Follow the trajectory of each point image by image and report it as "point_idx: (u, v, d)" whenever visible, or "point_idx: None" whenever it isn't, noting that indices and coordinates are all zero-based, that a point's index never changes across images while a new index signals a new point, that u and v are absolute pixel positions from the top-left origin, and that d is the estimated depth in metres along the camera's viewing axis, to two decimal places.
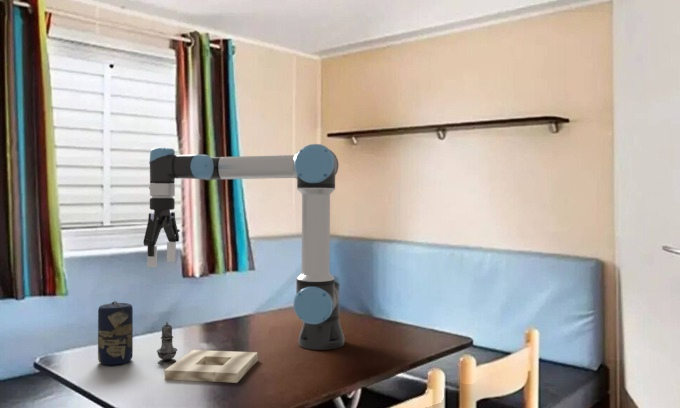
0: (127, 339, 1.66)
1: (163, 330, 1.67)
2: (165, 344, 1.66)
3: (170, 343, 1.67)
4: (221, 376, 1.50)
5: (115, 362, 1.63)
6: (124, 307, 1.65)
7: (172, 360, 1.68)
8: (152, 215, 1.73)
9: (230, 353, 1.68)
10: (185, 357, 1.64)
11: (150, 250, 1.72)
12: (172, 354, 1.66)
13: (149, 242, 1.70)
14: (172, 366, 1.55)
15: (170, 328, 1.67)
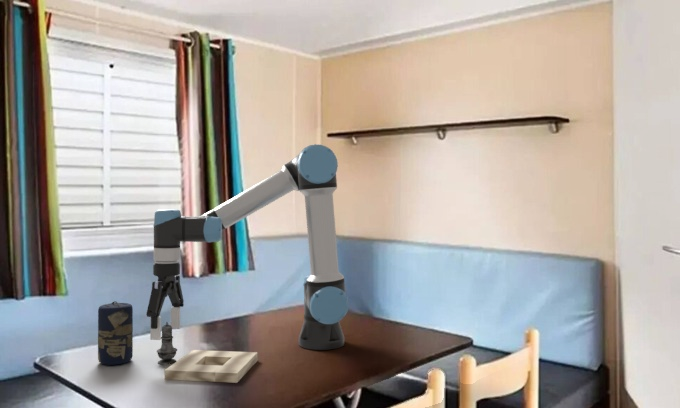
0: (127, 339, 1.66)
1: (163, 330, 1.67)
2: (165, 344, 1.66)
3: (170, 343, 1.67)
4: (221, 376, 1.50)
5: (115, 362, 1.63)
6: (124, 307, 1.65)
7: (172, 360, 1.68)
8: (156, 284, 1.61)
9: (230, 353, 1.68)
10: (185, 357, 1.64)
11: (153, 322, 1.59)
12: (172, 354, 1.66)
13: (153, 314, 1.58)
14: (172, 366, 1.55)
15: (170, 328, 1.67)
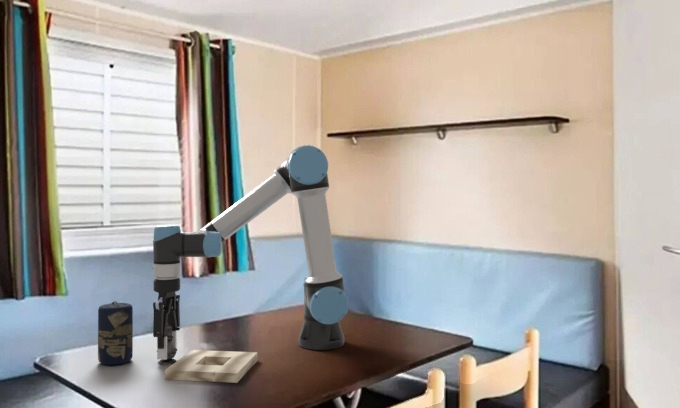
0: (127, 339, 1.66)
1: None
2: None
3: (170, 343, 1.67)
4: (221, 376, 1.50)
5: (115, 362, 1.63)
6: (124, 307, 1.65)
7: (172, 360, 1.68)
8: (157, 305, 1.61)
9: (230, 353, 1.68)
10: (185, 357, 1.64)
11: (160, 342, 1.63)
12: (172, 354, 1.66)
13: (159, 335, 1.61)
14: (172, 366, 1.55)
15: (170, 328, 1.67)
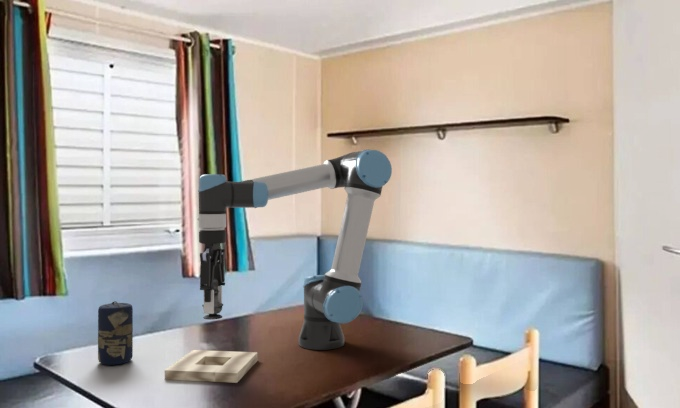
0: (127, 339, 1.66)
1: None
2: None
3: (216, 297, 1.60)
4: (221, 376, 1.50)
5: (115, 362, 1.63)
6: (124, 307, 1.65)
7: (218, 315, 1.61)
8: (204, 256, 1.54)
9: (230, 353, 1.68)
10: (185, 357, 1.64)
11: (207, 295, 1.56)
12: (218, 308, 1.59)
13: (206, 287, 1.54)
14: (172, 366, 1.55)
15: (216, 282, 1.60)
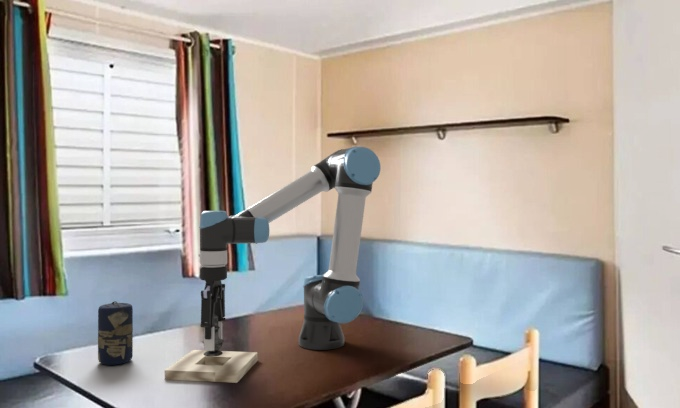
0: (127, 339, 1.66)
1: None
2: None
3: (217, 334, 1.60)
4: (221, 376, 1.50)
5: (115, 362, 1.63)
6: (124, 307, 1.65)
7: (218, 351, 1.61)
8: (205, 294, 1.54)
9: (230, 353, 1.68)
10: (185, 357, 1.64)
11: (207, 332, 1.56)
12: (219, 345, 1.59)
13: (207, 325, 1.54)
14: (172, 366, 1.55)
15: (217, 318, 1.60)
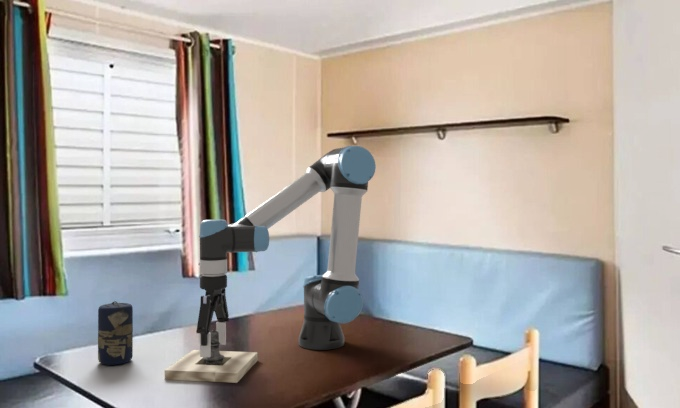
0: (127, 339, 1.66)
1: None
2: (212, 351, 1.59)
3: (217, 350, 1.60)
4: (221, 376, 1.50)
5: (115, 362, 1.63)
6: (124, 307, 1.65)
7: None
8: (205, 298, 1.54)
9: (230, 353, 1.68)
10: (185, 357, 1.64)
11: (203, 339, 1.53)
12: (219, 361, 1.59)
13: (203, 331, 1.51)
14: (172, 366, 1.55)
15: (217, 334, 1.60)
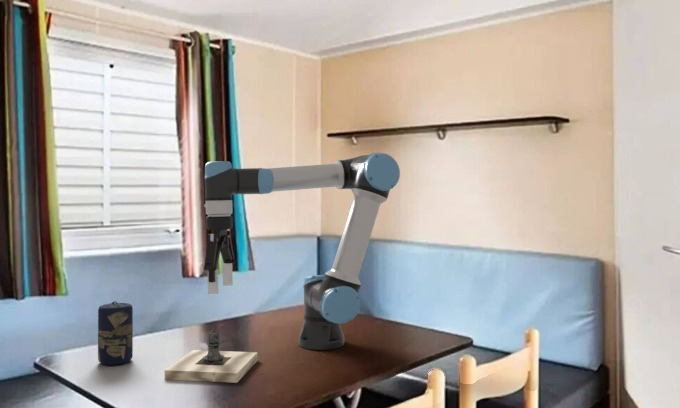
0: (127, 339, 1.66)
1: (210, 336, 1.60)
2: (212, 351, 1.59)
3: (217, 350, 1.60)
4: (221, 376, 1.50)
5: (115, 362, 1.63)
6: (124, 307, 1.65)
7: None
8: (212, 236, 1.56)
9: (230, 353, 1.68)
10: (185, 357, 1.64)
11: (211, 275, 1.55)
12: (219, 361, 1.59)
13: (211, 267, 1.53)
14: (172, 366, 1.55)
15: (217, 334, 1.60)
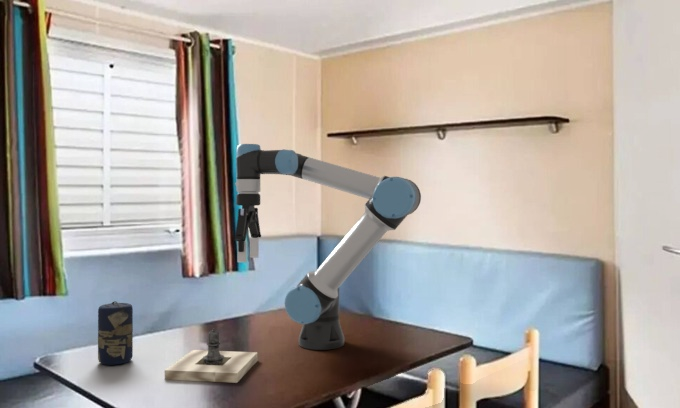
0: (127, 339, 1.66)
1: (210, 336, 1.60)
2: (212, 351, 1.59)
3: (217, 350, 1.60)
4: (221, 376, 1.50)
5: (115, 362, 1.63)
6: (124, 307, 1.65)
7: None
8: (242, 211, 1.74)
9: (230, 353, 1.68)
10: (185, 357, 1.64)
11: (241, 245, 1.72)
12: (219, 361, 1.59)
13: (241, 237, 1.71)
14: (172, 366, 1.55)
15: (217, 334, 1.60)
